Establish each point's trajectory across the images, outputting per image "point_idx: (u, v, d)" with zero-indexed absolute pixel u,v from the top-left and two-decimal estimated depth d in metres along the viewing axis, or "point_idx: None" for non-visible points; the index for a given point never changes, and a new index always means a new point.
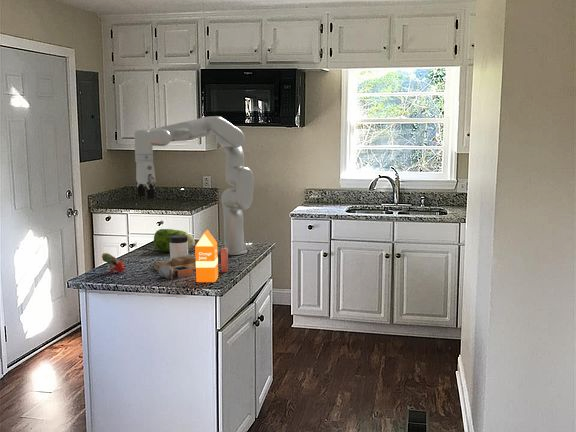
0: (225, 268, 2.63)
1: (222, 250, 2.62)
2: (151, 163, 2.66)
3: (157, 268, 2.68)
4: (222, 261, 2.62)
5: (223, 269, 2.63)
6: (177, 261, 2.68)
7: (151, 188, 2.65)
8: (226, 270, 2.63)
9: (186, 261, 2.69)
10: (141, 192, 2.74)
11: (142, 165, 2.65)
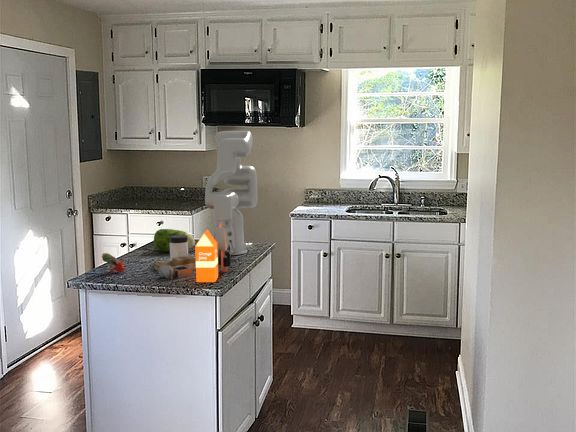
0: (225, 268, 2.63)
1: (222, 250, 2.62)
2: (231, 229, 2.59)
3: (157, 268, 2.68)
4: (222, 261, 2.62)
5: (223, 269, 2.63)
6: (176, 261, 2.68)
7: (227, 257, 2.61)
8: (226, 270, 2.63)
9: (185, 261, 2.69)
10: None
11: (222, 231, 2.58)
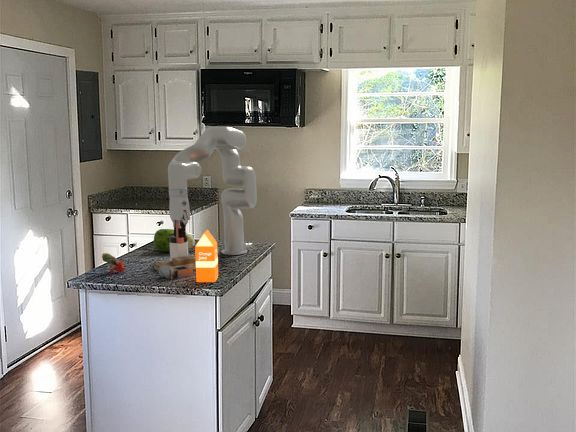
0: (180, 239, 2.55)
1: (177, 221, 2.54)
2: (186, 198, 2.51)
3: (157, 268, 2.68)
4: (177, 232, 2.55)
5: (178, 240, 2.55)
6: (176, 261, 2.69)
7: (182, 228, 2.53)
8: (181, 241, 2.55)
9: (185, 261, 2.69)
10: None
11: (176, 201, 2.50)
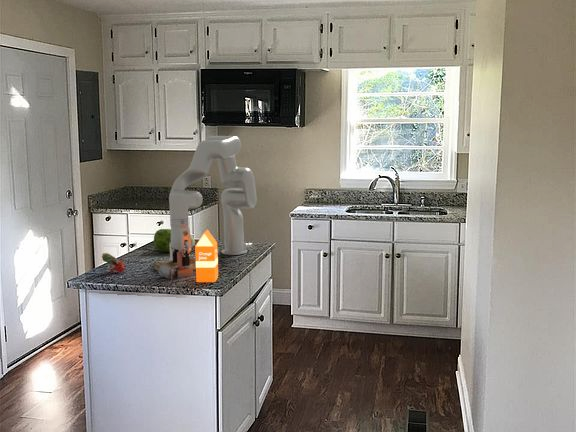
0: None
1: (178, 253, 2.56)
2: (187, 228, 2.53)
3: (157, 268, 2.68)
4: (178, 265, 2.57)
5: None
6: None
7: (186, 256, 2.53)
8: None
9: None
10: (176, 258, 2.61)
11: (178, 230, 2.52)
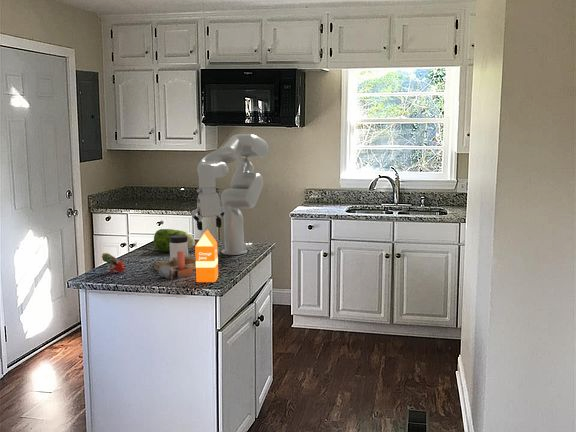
0: None
1: (178, 253, 2.56)
2: (200, 196, 2.72)
3: (157, 268, 2.68)
4: (178, 265, 2.57)
5: None
6: (175, 261, 2.69)
7: (196, 220, 2.74)
8: None
9: None
10: (217, 223, 2.81)
11: None
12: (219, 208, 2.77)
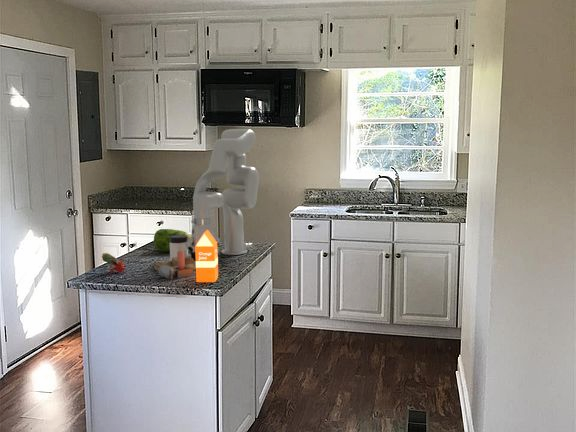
0: None
1: (178, 253, 2.56)
2: (194, 227, 2.72)
3: (157, 268, 2.68)
4: (178, 265, 2.57)
5: None
6: (174, 261, 2.68)
7: (190, 251, 2.74)
8: None
9: None
10: None
11: None
12: None
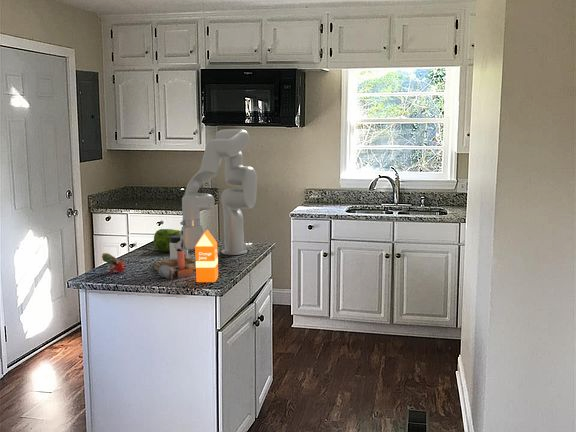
0: None
1: (178, 253, 2.56)
2: (183, 229, 2.69)
3: (157, 268, 2.68)
4: (178, 265, 2.57)
5: None
6: (167, 264, 2.64)
7: None
8: None
9: (176, 263, 2.64)
10: None
11: None
12: None
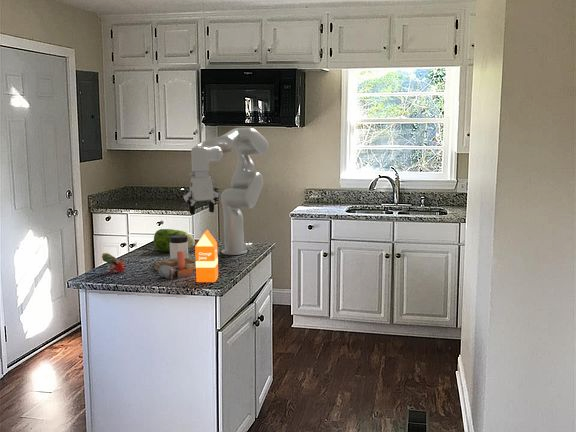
0: None
1: (178, 253, 2.56)
2: (193, 180, 2.69)
3: (157, 268, 2.68)
4: (178, 265, 2.57)
5: None
6: (167, 264, 2.64)
7: (189, 204, 2.71)
8: None
9: (176, 263, 2.65)
10: (210, 208, 2.78)
11: None
12: (212, 192, 2.74)
